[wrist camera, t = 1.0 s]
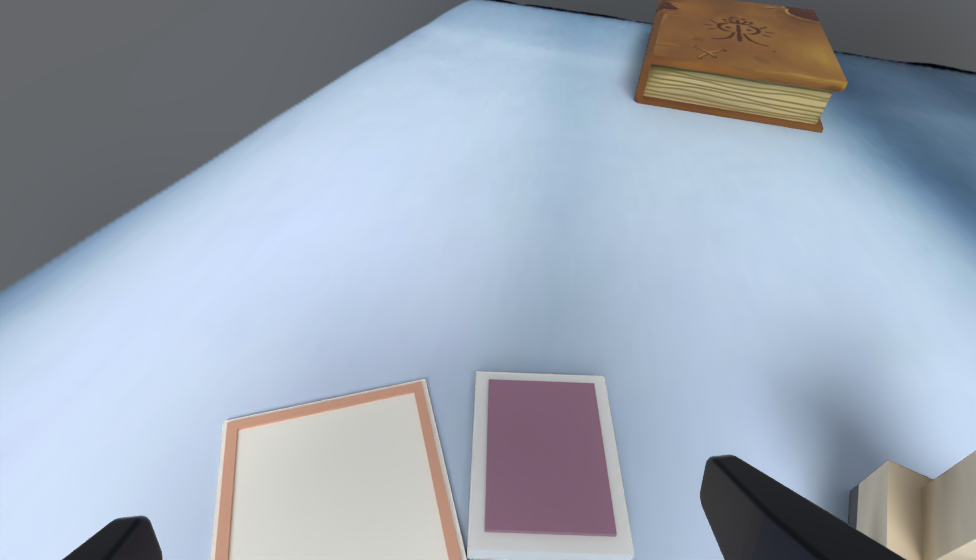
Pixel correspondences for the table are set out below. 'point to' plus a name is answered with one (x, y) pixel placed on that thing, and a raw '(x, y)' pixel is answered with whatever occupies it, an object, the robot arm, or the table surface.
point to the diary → (740, 62)
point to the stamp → (919, 511)
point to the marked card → (337, 482)
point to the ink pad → (545, 470)
